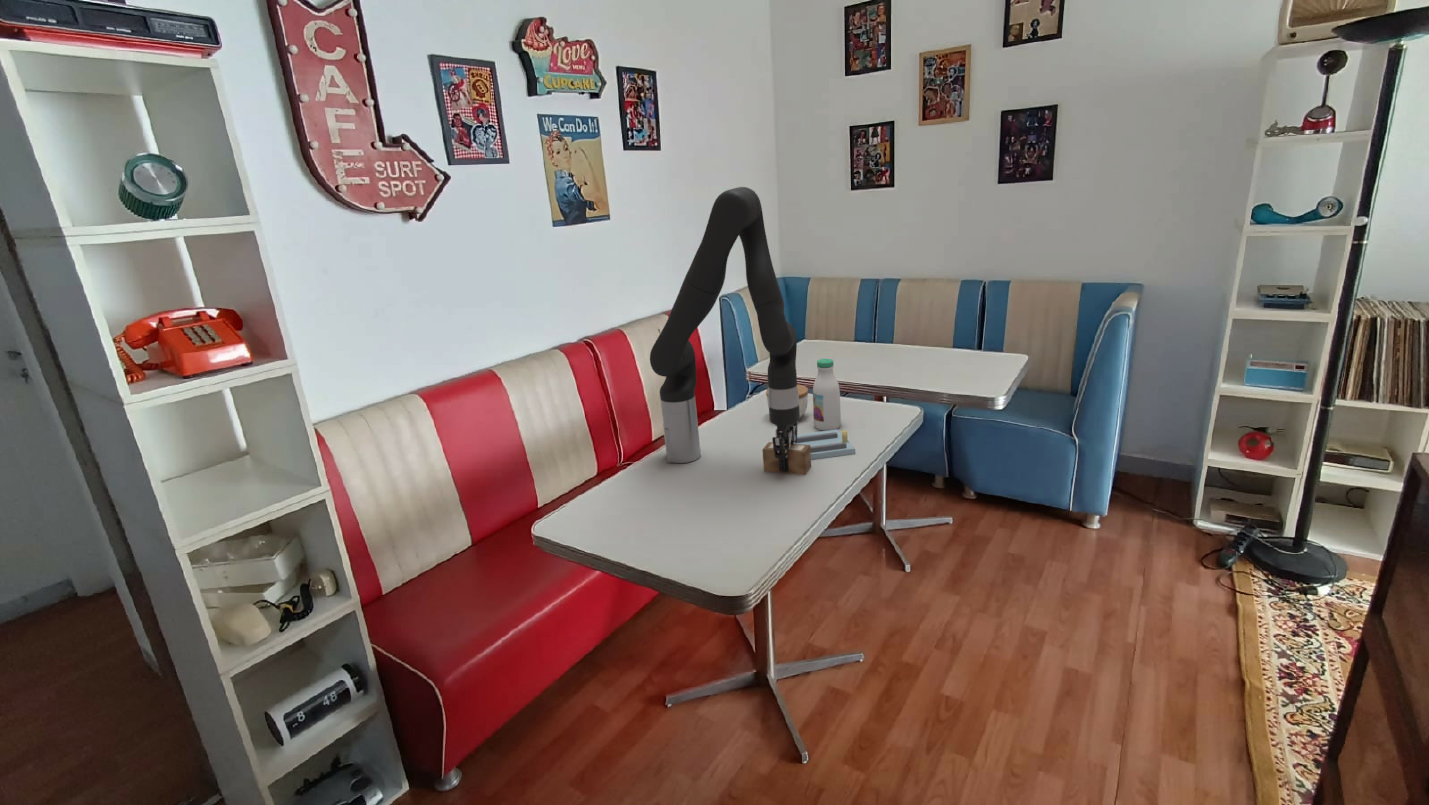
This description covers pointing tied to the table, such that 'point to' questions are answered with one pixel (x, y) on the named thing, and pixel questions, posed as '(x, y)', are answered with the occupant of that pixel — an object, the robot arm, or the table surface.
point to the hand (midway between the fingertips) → (787, 466)
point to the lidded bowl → (800, 398)
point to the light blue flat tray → (827, 443)
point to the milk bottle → (826, 397)
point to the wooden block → (796, 459)
